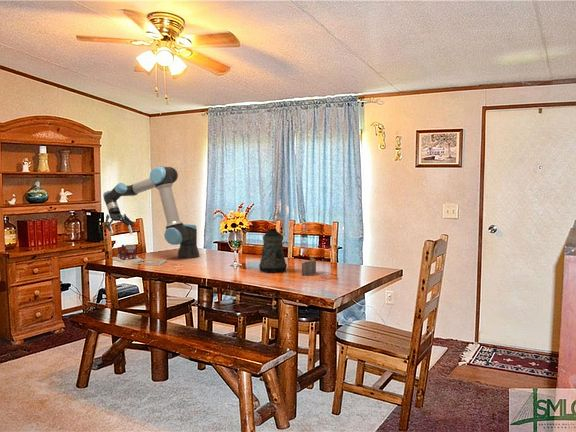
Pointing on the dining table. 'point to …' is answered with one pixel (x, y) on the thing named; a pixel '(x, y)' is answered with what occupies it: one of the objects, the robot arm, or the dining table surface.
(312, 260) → the grey rectangular block
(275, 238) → the dark tapered vessel
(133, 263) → the grey bay
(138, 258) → the cream bay
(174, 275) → the dining table surface
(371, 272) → the dining table surface
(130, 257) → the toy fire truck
